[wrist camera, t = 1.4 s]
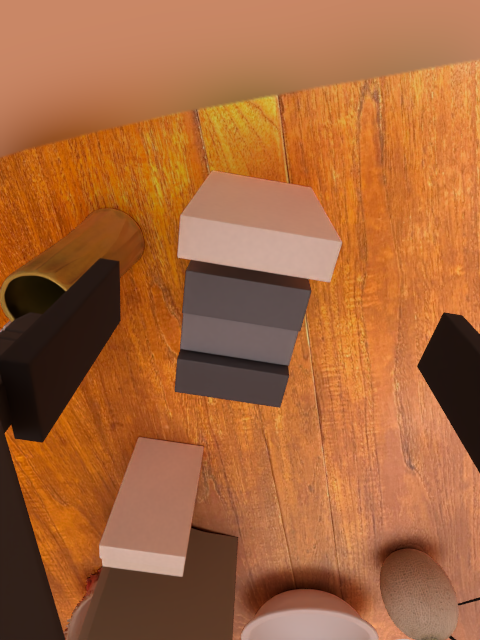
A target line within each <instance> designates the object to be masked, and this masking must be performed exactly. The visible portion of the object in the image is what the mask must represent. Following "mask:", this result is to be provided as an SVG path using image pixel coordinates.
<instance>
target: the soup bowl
mask: <svg viewBox="0 0 480 640" xmlns="http://www.w3.org/2000/svg"><path fill="white" fill-rule="evenodd" d="M241 640H379V637H378V634H377V632H376V630H375V629H374V627H373V626H372V625H371V624H369V623H368V622H367V621H365V620H363V619H362V618H361V617H360V615H359V614H358V613H357V612H356V611H355V610H354V609H353V608H352V607H351V606H350V605H349V604H348V603H347V602H345V601H344V600H342V599H341V598H339V597H337V596H335V595H333V594H331V593H328V592H324V591H320V590H314V589H296V590H290V591H286V592H283V593H280V594H278V595H276V596H274V597H272V598H271V599H269V600H268V601H267V602H266V603H264V605H263V606H262V607H261V608H260V609H259V610H258V612H257V613H256V615H255V616H254V618H253V619H252V620H251V621H249V622H248V623H247V624H246V625H245V626H244V628H243V630H242V632H241Z"/></svg>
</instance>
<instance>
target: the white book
mask: <svg viewBox="0 0 480 640" xmlns="http://www.w3.org/2000/svg"><path fill="white" fill-rule="evenodd" d="M341 245H342V241H341V239H340V237H339V236H338V234H337V232H336V230H335V229H334V227H333V225H332V223H331V222H330V220H329V218H328V216H327V214H326V213H325V211H324V209H323V207H322V206H321V204H320V202H319V200H318V199H317V197H316V195H315V193H314V192H313V190H312V188H311V187H306V186H300V185H295V184H289V183H283V182H277V181H271V180H266V179H260V178H254V177H248V176H242V175H237V174H231V173H225V172H219V171H213V170H212V171H211V173H210V174H209V175H208V177H207V178H206V180H205V181H204V183H203V184H202V185H201V187H200V188H199V190H198V191H197V192H196V194H195V195H194V197H193V198H192V200H191V201H190V202H189V204H188V205H187V207H186V208H185V209H184V211H183V212H182V214H181V215H180V226H179V240H178V254H177V257H178V258H183V259H190V260H196V261H202V262H208V263H214V264H220V265H226V266H232V267H239V268H245V269H251V270H257V271H263V272H269V273H275V274H281V275H288V276H294V277H300V278H306V279H312V280H318V281H324V282H330V281H331V278H332V274H333V271H334V268H335V265H336V261H337V258H338V255H339V252H340V248H341Z"/></svg>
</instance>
